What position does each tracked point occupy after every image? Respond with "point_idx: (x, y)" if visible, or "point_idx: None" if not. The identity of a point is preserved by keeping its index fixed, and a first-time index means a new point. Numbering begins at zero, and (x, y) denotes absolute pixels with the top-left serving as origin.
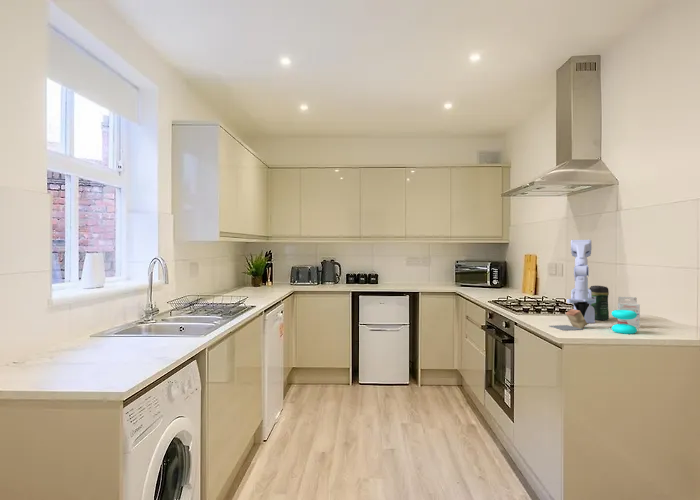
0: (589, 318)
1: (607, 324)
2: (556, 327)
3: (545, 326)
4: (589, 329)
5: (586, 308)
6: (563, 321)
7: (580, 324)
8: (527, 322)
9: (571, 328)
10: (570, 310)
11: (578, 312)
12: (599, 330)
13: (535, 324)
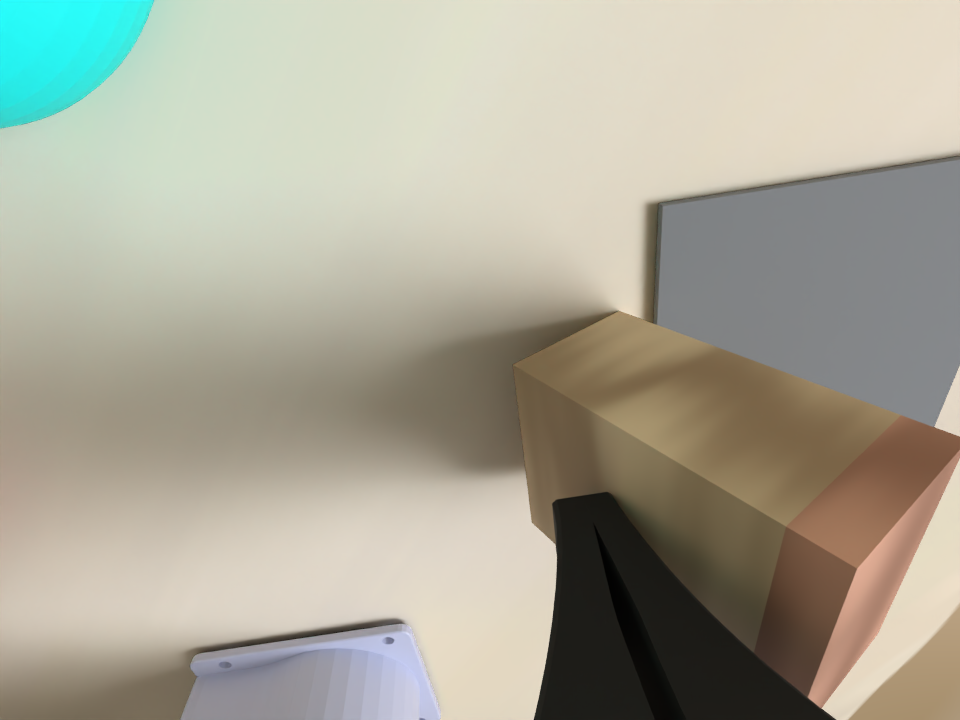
0: (254, 710)
1: (68, 595)
2: (948, 367)
3: (954, 471)
4: (523, 248)
5: (567, 706)
6: (510, 701)
7: (658, 343)
8: (907, 649)
9: (806, 284)
10: (823, 696)
11: (863, 509)
12: (395, 137)
13: (938, 570)
